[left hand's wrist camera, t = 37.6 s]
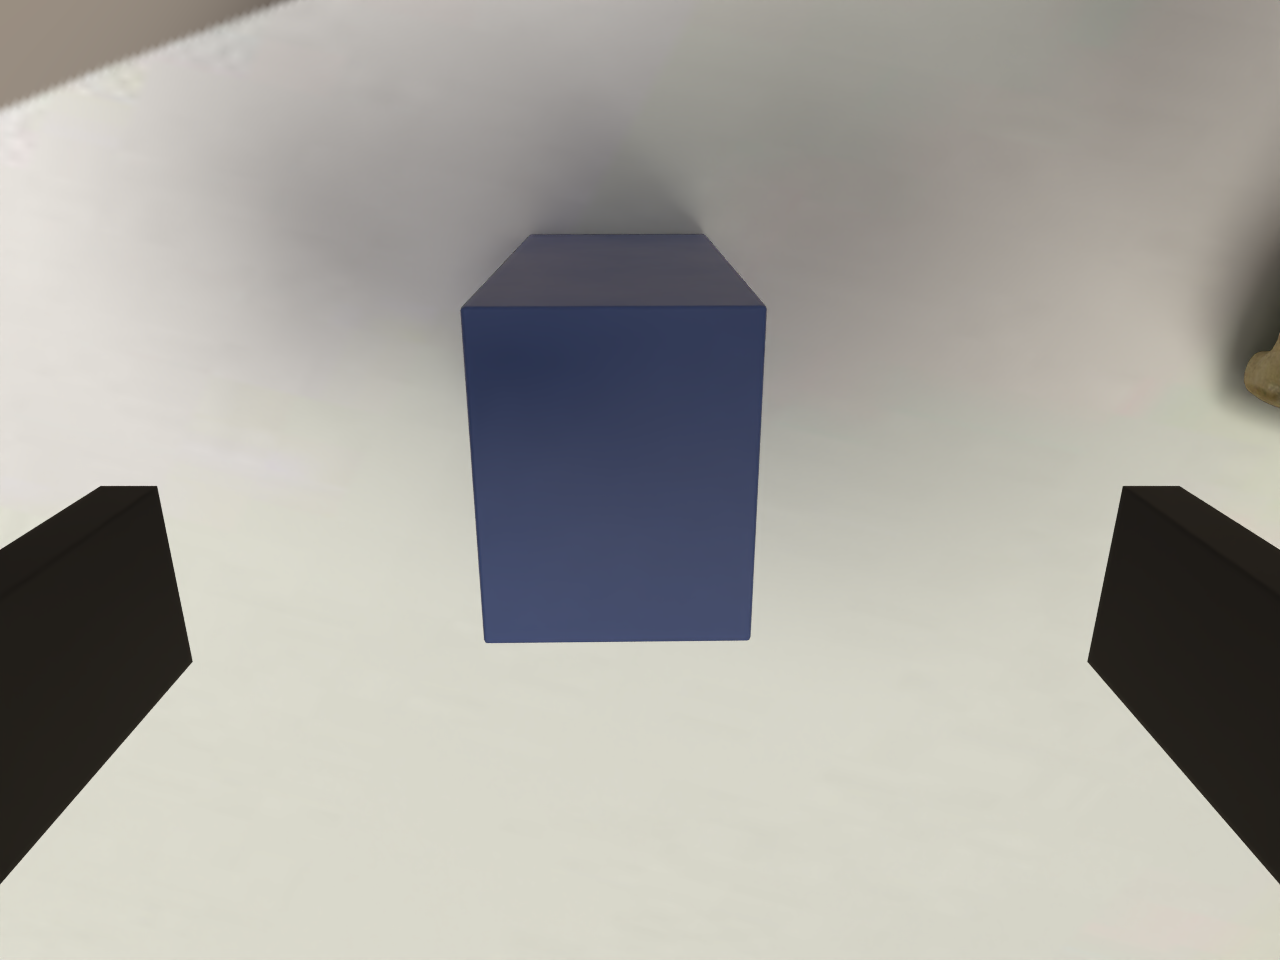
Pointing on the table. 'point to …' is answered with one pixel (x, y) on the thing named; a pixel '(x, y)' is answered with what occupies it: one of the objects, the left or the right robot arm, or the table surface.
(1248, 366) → the sculpture
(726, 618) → the brick
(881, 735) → the table surface
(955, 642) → the table surface
